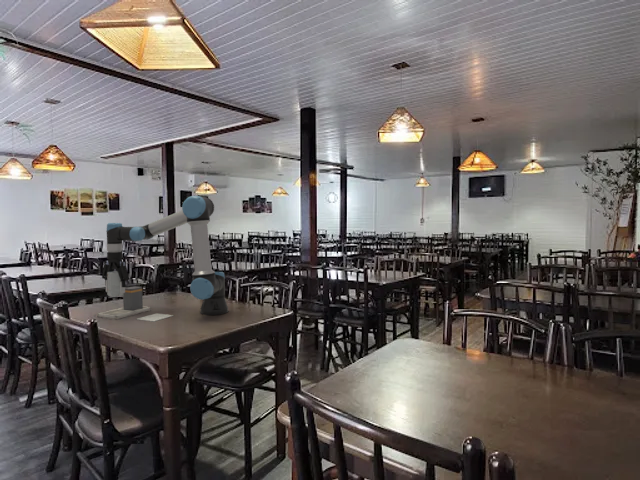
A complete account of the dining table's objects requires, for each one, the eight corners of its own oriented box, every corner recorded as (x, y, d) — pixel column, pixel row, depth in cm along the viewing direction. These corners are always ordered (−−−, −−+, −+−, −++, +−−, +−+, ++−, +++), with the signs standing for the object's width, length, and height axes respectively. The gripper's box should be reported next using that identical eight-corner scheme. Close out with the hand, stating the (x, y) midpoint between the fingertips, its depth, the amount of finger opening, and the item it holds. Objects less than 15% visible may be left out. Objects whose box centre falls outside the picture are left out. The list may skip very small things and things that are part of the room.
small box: (123, 296, 227) (123, 272, 226) (110, 297, 223) (110, 273, 222) (119, 294, 233) (119, 270, 232) (107, 295, 229) (106, 271, 228)
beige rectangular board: (151, 310, 242) (150, 307, 242) (116, 319, 220) (116, 316, 220) (132, 308, 247) (132, 305, 247) (97, 316, 225) (97, 313, 225)
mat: (173, 315, 228) (173, 315, 228) (153, 321, 215) (153, 321, 215) (156, 313, 232) (156, 313, 232) (136, 319, 220) (136, 318, 220)
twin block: (142, 309, 241) (142, 287, 241) (131, 312, 234) (131, 289, 233) (134, 308, 244) (134, 286, 243) (123, 311, 236) (122, 288, 236)
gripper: (135, 251, 226) (136, 292, 227) (105, 250, 234) (106, 289, 236) (124, 252, 219) (125, 295, 220) (93, 251, 227) (94, 291, 229)
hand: (115, 292), depth 228 cm, fingers closed on small box, 10 cm apart
